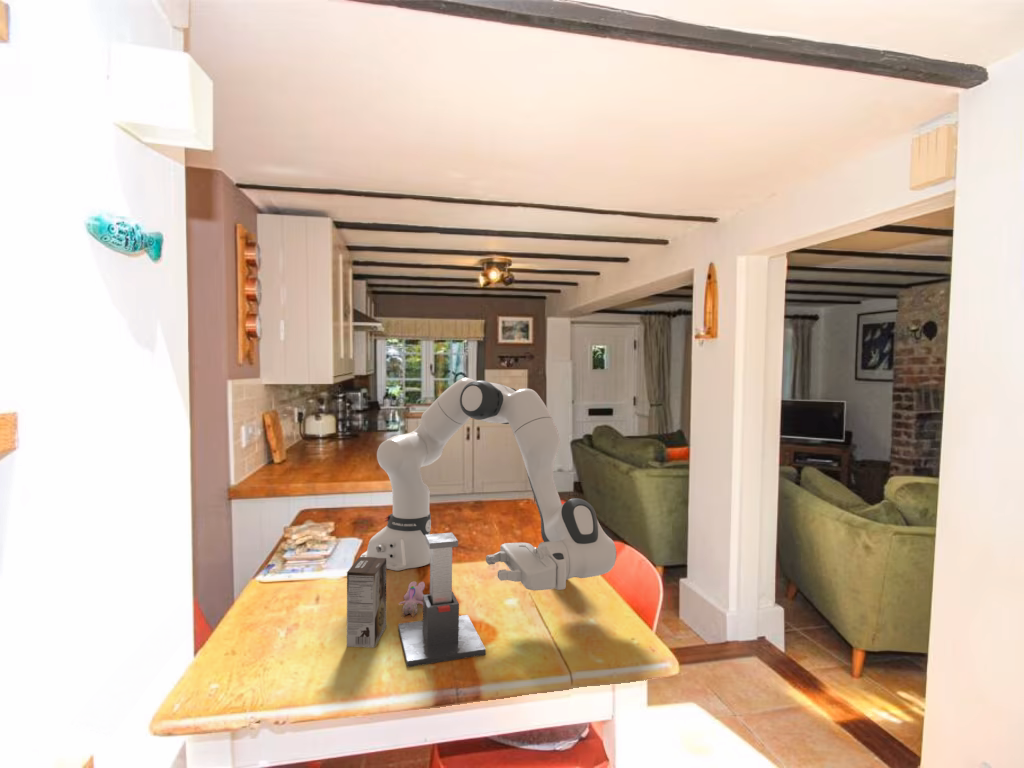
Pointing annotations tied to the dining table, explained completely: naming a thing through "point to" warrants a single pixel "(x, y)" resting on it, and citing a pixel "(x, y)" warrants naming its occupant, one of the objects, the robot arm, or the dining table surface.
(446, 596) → the steel column
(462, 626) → the stand base
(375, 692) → the dining table surface
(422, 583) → the rabbit figure
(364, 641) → the coffee box
